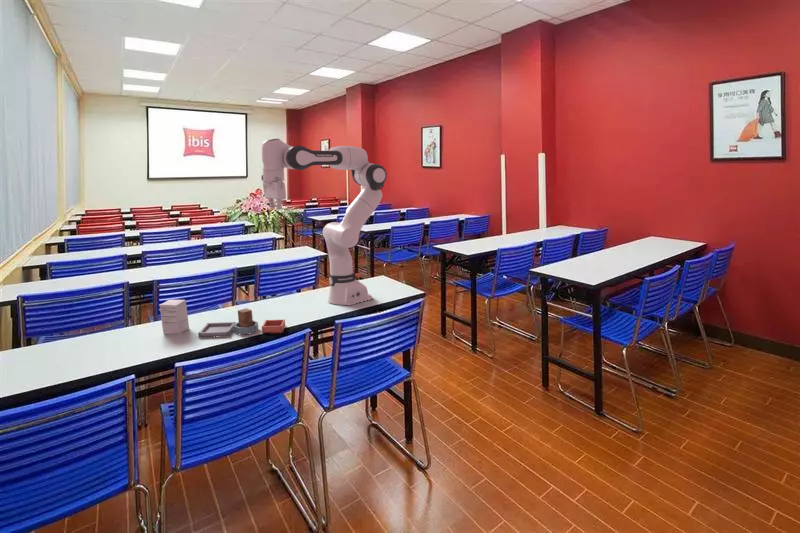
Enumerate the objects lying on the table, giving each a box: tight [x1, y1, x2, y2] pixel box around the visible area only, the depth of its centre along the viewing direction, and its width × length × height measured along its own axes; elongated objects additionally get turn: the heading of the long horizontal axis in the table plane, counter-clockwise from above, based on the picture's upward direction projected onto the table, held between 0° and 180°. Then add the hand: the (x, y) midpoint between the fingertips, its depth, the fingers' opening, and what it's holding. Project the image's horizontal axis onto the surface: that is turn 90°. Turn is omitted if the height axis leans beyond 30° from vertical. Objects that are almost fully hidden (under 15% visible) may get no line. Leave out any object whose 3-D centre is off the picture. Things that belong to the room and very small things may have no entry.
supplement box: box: [159, 299, 190, 335], centre depth 187 cm, size 7×7×13 cm
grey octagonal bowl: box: [233, 320, 259, 335], centre depth 188 cm, size 9×9×3 cm
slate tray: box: [197, 321, 237, 338], centre depth 187 cm, size 12×12×2 cm
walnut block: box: [237, 307, 254, 327], centre depth 188 cm, size 4×4×9 cm
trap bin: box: [261, 319, 286, 334], centre depth 189 cm, size 8×8×3 cm
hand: (275, 208), depth 202 cm, fingers open, 8 cm apart
